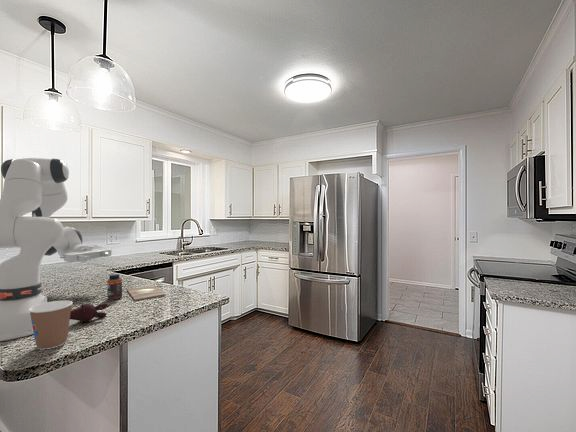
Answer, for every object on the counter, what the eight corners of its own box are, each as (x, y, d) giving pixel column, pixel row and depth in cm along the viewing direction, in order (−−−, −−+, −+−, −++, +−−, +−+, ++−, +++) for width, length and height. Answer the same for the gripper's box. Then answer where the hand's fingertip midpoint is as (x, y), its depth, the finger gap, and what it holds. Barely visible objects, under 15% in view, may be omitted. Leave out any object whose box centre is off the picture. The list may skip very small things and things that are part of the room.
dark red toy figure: (58, 312, 96) (110, 306, 106) (57, 302, 101) (106, 297, 111) (56, 331, 97) (107, 323, 107) (55, 320, 102) (104, 313, 112)
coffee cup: (37, 341, 89) (36, 303, 89) (77, 334, 93) (76, 298, 93) (23, 356, 79) (22, 313, 79) (68, 348, 84) (67, 308, 84)
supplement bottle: (124, 296, 137) (124, 272, 136) (119, 299, 131) (118, 275, 130) (111, 296, 136) (110, 273, 136) (105, 300, 130) (104, 276, 130)
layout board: (164, 295, 136) (164, 293, 136) (134, 301, 128) (134, 299, 128) (154, 286, 154) (154, 284, 154) (127, 290, 146) (127, 289, 146)
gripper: (57, 250, 135) (73, 253, 129) (102, 244, 154) (117, 247, 147) (58, 263, 136) (74, 267, 129) (102, 256, 154) (118, 259, 148)
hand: (97, 256), depth 139 cm, fingers open, 8 cm apart
